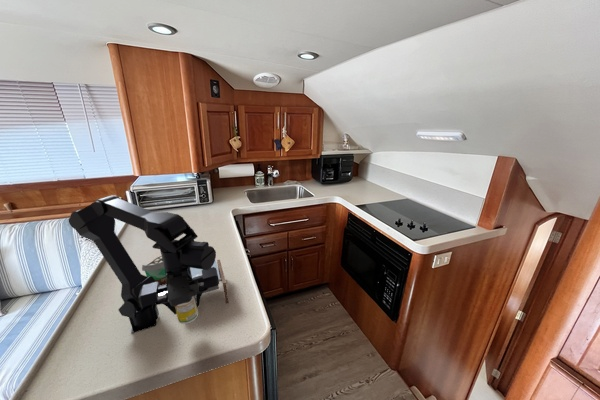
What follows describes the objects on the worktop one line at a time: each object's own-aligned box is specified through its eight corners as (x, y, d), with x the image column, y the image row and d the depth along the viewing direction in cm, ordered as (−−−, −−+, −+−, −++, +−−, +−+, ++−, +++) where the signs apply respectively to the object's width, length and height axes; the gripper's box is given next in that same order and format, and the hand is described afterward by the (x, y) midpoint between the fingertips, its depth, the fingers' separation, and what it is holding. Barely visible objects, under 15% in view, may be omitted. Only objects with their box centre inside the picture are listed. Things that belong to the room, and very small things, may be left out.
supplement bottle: (193, 324, 63) (187, 296, 60) (174, 324, 63) (167, 296, 60) (201, 309, 68) (196, 282, 65) (183, 309, 68) (177, 282, 65)
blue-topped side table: (181, 318, 73) (176, 297, 70) (181, 289, 86) (177, 270, 83) (228, 302, 79) (225, 282, 76) (222, 277, 92) (219, 259, 89)
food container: (159, 292, 85) (153, 269, 81) (147, 288, 87) (140, 265, 83) (185, 272, 96) (181, 251, 92) (174, 269, 98) (169, 248, 94)
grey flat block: (181, 299, 72) (179, 292, 71) (181, 273, 84) (180, 266, 83) (223, 287, 77) (221, 280, 76) (217, 264, 89) (216, 258, 88)
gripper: (126, 293, 49) (144, 347, 54) (218, 269, 57) (225, 318, 62) (135, 265, 59) (149, 313, 64) (212, 248, 66) (219, 292, 71)
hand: (186, 309), depth 65 cm, fingers closed on supplement bottle, 5 cm apart
